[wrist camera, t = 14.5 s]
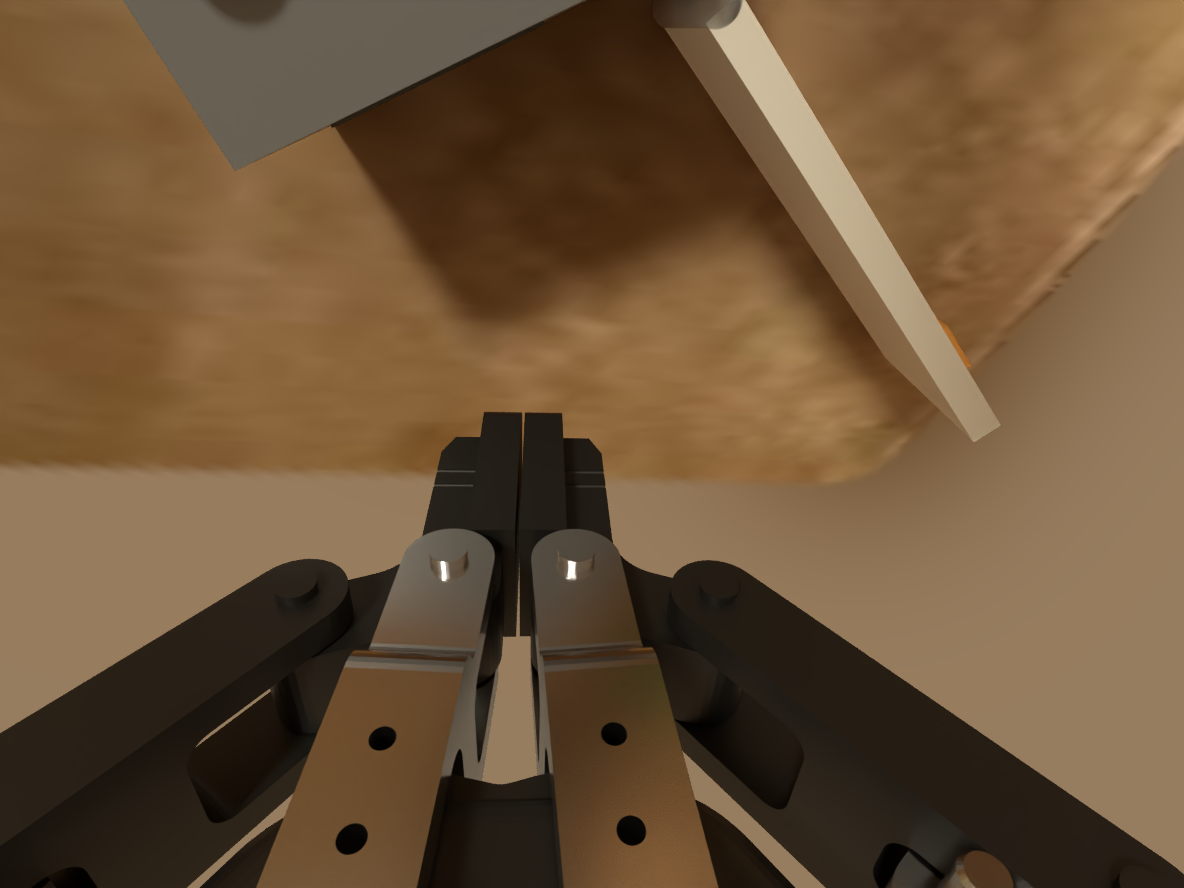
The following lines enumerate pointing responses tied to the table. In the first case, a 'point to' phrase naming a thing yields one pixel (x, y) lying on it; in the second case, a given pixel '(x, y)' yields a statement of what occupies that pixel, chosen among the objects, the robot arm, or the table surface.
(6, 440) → the table surface
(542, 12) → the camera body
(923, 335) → the side door
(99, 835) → the robot arm
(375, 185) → the table surface
